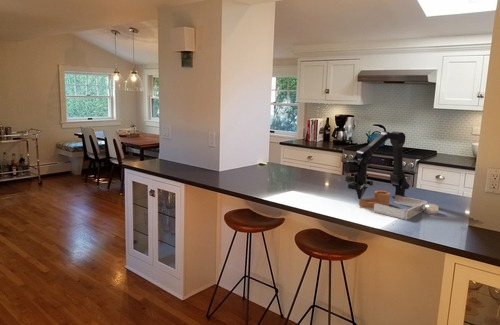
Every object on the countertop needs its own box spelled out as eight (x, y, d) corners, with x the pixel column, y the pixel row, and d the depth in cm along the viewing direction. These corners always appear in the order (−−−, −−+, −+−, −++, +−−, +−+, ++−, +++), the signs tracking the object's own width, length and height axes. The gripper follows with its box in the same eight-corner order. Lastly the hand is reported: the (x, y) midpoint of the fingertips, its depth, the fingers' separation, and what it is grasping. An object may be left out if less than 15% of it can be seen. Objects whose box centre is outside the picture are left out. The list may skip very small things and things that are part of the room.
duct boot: (395, 202, 215) (395, 194, 214) (426, 209, 203) (427, 201, 202) (373, 211, 196) (374, 203, 195) (406, 219, 184) (407, 211, 183)
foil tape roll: (426, 210, 202) (427, 203, 201) (439, 212, 197) (440, 205, 197) (422, 212, 197) (423, 205, 196) (435, 215, 193) (436, 208, 192)
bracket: (382, 202, 216) (383, 190, 215) (392, 206, 208) (393, 193, 207) (355, 204, 210) (356, 192, 209) (365, 208, 202) (366, 196, 201)
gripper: (356, 168, 225) (355, 193, 228) (340, 172, 212) (338, 199, 215) (374, 171, 217) (372, 197, 220) (358, 175, 204) (356, 203, 207)
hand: (359, 199), depth 216 cm, fingers closed
